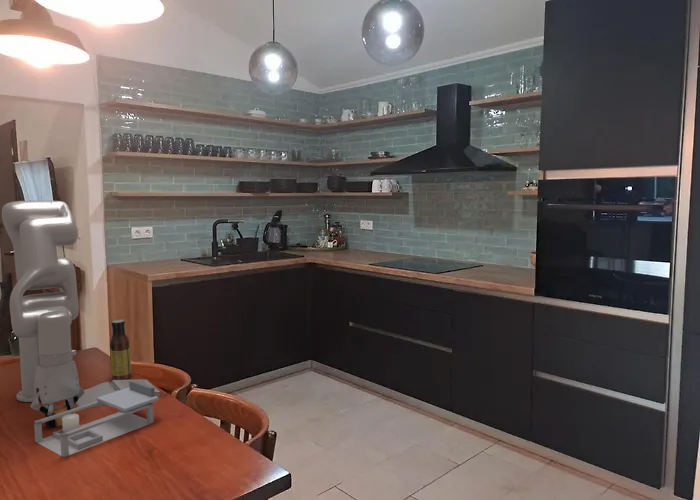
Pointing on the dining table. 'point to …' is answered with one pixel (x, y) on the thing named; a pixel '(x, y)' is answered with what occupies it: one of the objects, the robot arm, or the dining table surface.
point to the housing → (91, 429)
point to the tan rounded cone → (55, 411)
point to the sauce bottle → (120, 352)
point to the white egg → (70, 422)
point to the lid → (130, 397)
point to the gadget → (107, 391)
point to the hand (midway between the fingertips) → (59, 424)
